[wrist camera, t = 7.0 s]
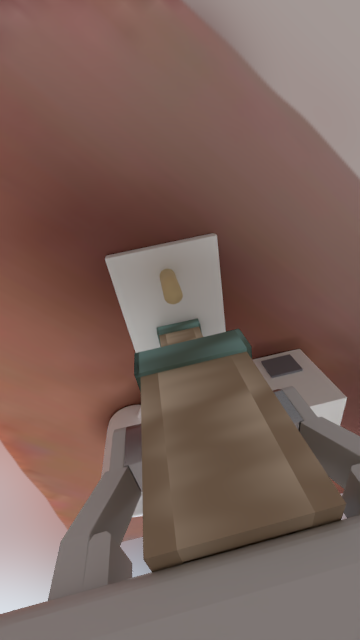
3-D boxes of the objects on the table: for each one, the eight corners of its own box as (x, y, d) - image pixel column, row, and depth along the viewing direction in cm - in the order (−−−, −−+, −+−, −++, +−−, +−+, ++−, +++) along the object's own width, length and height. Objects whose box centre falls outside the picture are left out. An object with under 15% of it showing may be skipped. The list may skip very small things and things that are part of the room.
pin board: (213, 233, 25) (234, 246, 19) (224, 343, 32) (241, 376, 26) (106, 255, 24) (96, 276, 19) (141, 362, 31) (141, 400, 26)
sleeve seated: (197, 317, 28) (213, 355, 22) (202, 351, 30) (218, 392, 24) (156, 327, 28) (161, 367, 22) (164, 359, 30) (171, 404, 24)
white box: (299, 346, 34) (347, 395, 26) (296, 382, 37) (337, 434, 30) (244, 359, 34) (275, 412, 26) (245, 394, 37) (274, 450, 29)
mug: (117, 379, 32) (109, 454, 23) (177, 386, 34) (191, 457, 25) (104, 438, 37) (93, 519, 28) (157, 441, 39) (162, 516, 31)
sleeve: (238, 327, 11) (357, 496, 5) (242, 399, 14) (327, 573, 8) (134, 351, 11) (131, 559, 5) (158, 421, 13) (175, 617, 7)
